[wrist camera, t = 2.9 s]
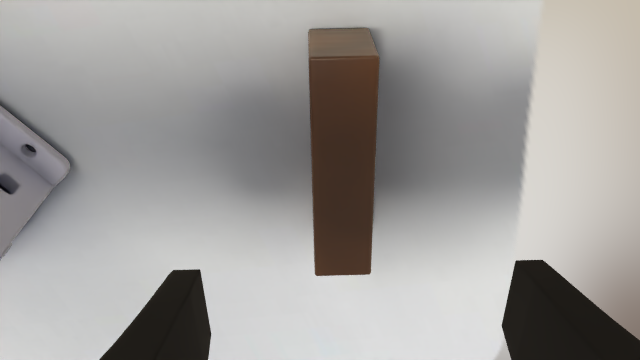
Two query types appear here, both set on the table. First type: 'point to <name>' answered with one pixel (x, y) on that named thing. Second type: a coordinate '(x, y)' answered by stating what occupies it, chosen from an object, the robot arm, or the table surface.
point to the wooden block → (343, 147)
